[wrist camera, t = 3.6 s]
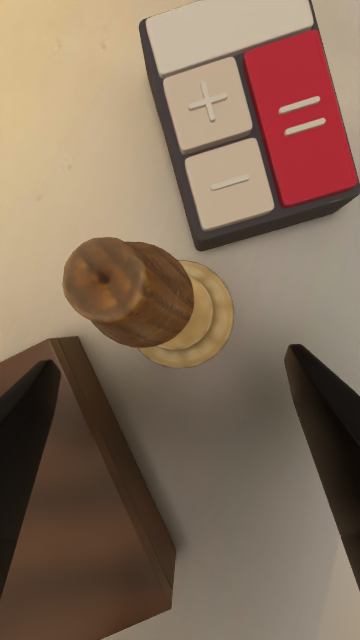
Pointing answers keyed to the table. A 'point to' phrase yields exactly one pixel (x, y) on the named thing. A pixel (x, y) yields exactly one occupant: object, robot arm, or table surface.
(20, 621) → the shelf
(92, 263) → the hand bell
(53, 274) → the table surface
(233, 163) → the calculator
